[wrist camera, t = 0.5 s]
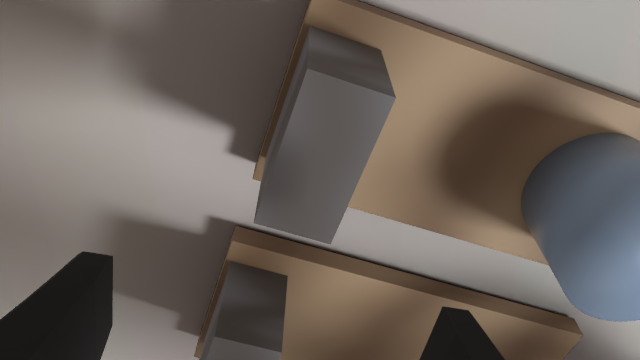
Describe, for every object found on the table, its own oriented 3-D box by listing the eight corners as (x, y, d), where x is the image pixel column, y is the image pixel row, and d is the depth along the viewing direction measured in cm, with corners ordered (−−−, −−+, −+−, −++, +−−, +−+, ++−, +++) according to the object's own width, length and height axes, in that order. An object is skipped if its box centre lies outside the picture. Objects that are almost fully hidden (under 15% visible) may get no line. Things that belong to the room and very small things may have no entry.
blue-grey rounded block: (689, 157, 19) (769, 222, 16) (606, 260, 22) (660, 335, 18) (568, 115, 18) (624, 174, 15) (496, 227, 21) (531, 300, 17)
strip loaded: (725, 133, 20) (835, 209, 16) (612, 271, 23) (678, 364, 19) (314, -15, 17) (312, 27, 13) (255, 165, 21) (238, 246, 16)
